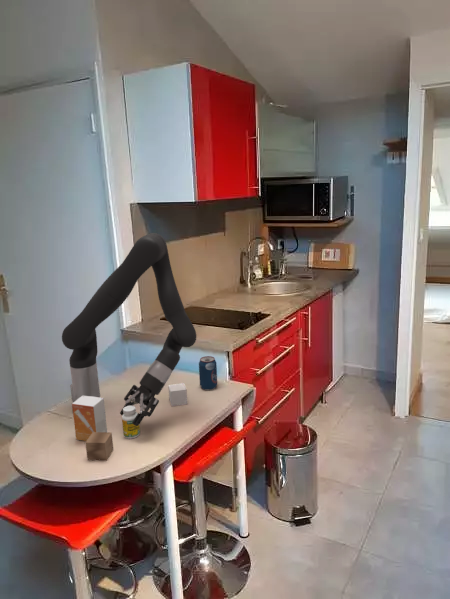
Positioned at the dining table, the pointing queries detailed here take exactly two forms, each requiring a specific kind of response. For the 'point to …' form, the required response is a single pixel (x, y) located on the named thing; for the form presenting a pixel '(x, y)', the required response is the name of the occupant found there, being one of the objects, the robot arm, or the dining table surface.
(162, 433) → the dining table surface
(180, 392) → the white cube
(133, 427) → the supplement bottle
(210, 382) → the soda can
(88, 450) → the walnut cube
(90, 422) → the small box
